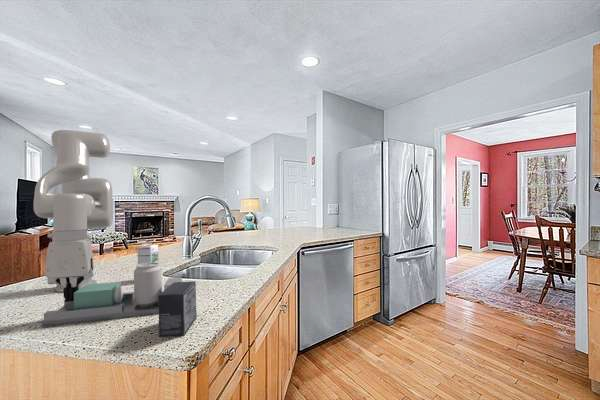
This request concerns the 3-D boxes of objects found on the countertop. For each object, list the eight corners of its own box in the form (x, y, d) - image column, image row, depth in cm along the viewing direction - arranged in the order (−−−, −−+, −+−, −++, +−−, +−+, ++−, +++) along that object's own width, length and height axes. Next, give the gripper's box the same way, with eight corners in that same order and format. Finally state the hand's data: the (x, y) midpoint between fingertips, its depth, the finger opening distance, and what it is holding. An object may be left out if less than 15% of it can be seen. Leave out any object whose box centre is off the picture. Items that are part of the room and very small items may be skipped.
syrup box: (151, 281, 113) (151, 246, 113) (137, 281, 113) (137, 246, 113) (159, 277, 119) (158, 244, 119) (145, 278, 119) (145, 244, 119)
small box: (173, 318, 77) (173, 281, 78) (197, 317, 78) (197, 280, 78) (157, 337, 67) (156, 294, 67) (184, 336, 68) (184, 293, 68)
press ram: (74, 313, 77) (73, 292, 77) (86, 303, 84) (86, 284, 84) (115, 309, 80) (115, 289, 80) (124, 299, 87) (124, 281, 87)
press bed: (41, 327, 73) (41, 298, 73) (65, 310, 84) (64, 285, 84) (177, 311, 83) (177, 286, 83) (182, 297, 94) (182, 275, 94)
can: (133, 309, 81) (132, 267, 81) (134, 300, 87) (134, 262, 87) (162, 304, 84) (161, 264, 84) (161, 296, 91) (161, 260, 91)
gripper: (30, 239, 74) (30, 308, 74) (95, 236, 78) (96, 301, 78) (46, 235, 81) (47, 298, 81) (105, 233, 86) (106, 293, 86)
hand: (71, 300), depth 80 cm, fingers closed
